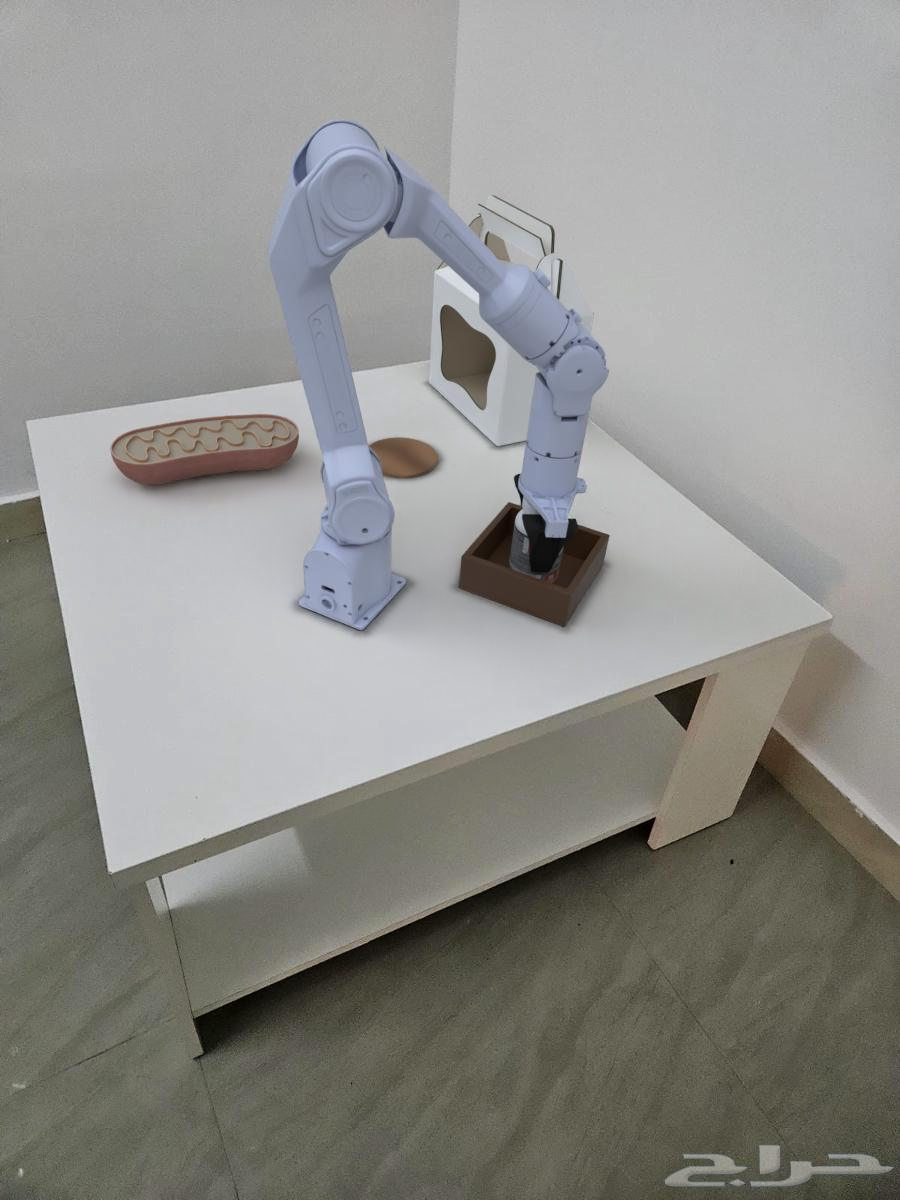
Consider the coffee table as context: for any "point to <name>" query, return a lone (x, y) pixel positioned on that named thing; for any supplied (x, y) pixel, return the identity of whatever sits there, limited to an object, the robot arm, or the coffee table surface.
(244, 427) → the anatomical model
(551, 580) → the pill bottle
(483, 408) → the gable box
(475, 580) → the open box
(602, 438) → the coffee table surface
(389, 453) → the coaster
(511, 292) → the robot arm
